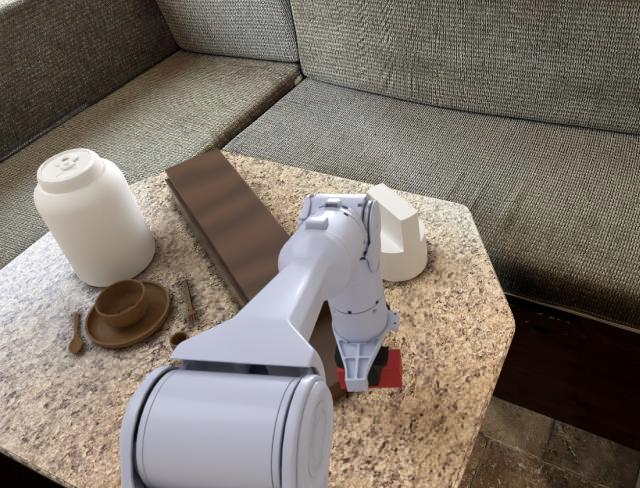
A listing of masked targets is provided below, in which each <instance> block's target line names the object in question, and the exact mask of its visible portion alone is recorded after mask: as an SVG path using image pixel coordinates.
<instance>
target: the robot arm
mask: <svg viewBox="0 0 640 488" xmlns="http://www.w3.org/2000/svg"><path fill="white" fill-rule="evenodd" d="M380 234H381V213H380V207H379V203H378V201H377V200H374V201H373V200H371V198H370V196H368V194H367V193H316V194H315V195H314V194H312V193H311V194H310V193H309V194H307V195H306V196H305V198H304V201H303V204H302V208H301V213H300V216H299V217H298V221H297V229H296V231H294V233H293V234H292V235H291V238H290V239H289V240H288V241H287V242H286V244H285V245H284V246H283V248H282V249H281V251H280V254H279V258H278V269H279V274H278V275H276V276H275V277H274V278H273V279H272V280H271V281H270V282H269V283H268V284H267V285H266V286H265V287H264V288H263V289H262V290H261V291H260V292H259V293H258V294H257V295H256V296H255V297H254V298H253V299H252V300H251V301H250V302H249V303H248V304H247V305H246V306H245V307H244V308H243V309H242V308H241V310H239V311H238V312H237V313H236V314H235V315H234V316H233V317H231V318H230V319H228V320H226V321H224V322H221V323H220V324H217V325H215V326H213V327H211V328H209V329H207V330H205V331H202V332H200V333H198V334H196V335H194V336H192V337H190V338H189V339H187V340H185V341H183V342H181V343H180V344H179V345H178V346H177V347H176V349H175V350H174V351H173V350H172V353H171V355H169V358H168V359H169V360H177V361H178V360H180V361H181V362H182V363H181V365H180V366H176V365H175V366H174V365H161V366H158V367H156V368H155V369H153V370H152V371H151V372H150V373H148V375H147V376H146V377H145V378H144V379H143V380H142V382H141V383H140V385H138V387H137V388H136V389H135V391H134V392H133V394H132V396H131V398H130V399H129V402H128V404H127V407H126V409H125V412H124V414H123V418H122V422H121V426H120V433H119V441H118V445H119V446H118V447H119V448H118V451H119V458H120V461H119V462H120V485H121V488H329V476H330V475H329V474H330V463H331V462H330V461H331V460H330V459H331V454H332V446H333V438H334V427H335V426H334V425H335V424H334V423H335V412H334V411H335V410H334V400H332V395H331V392H330V390H329V388H328V387H327V386H326V378H325V372H324V367H323V364H322V361H321V359H320V357H319V355H318V353H317V352H316V350H315V349H314V348H313V347H312V346H311V345H310V344H309V343H308V342H309V339H310V337H311V334H312V331H313V329H314V326H315V323H316V321H317V318H318V315H319V313H320V310H321V307H322V305H323V302H324V301H326V300H328V303H329V307H330V311H331V315H332V319H333V320H332V327H333V332H334V335H335V338H336V342H337V345H336V349H335V363H336V365H337V367H338V368H341V369H344V370H345V382H346V386H347V390H348V391H347V392H352V393H353V392H354V393H356V392H359V393H360V392H368V391H369V388H368V387H371V386H379V383H380V378H381V371H382V369H383V368H384V367H385V366H386V365H387V362H388V358H389V349H390V346H389V345H383V343H384V341H385V339H386V337H387V335H388V333H389V332H390V331H391V332H392V331H397V330H398V329H399V328H400V313H399V312H398V311H396V310H391V306H390V305H389V303H387V302H386V296H385V288H384V282H383V279H382V275H381V269H380V262H379V259H380V254H381V238H380Z"/></svg>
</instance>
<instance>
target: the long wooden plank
mask: <svg viewBox="0 0 640 488" xmlns="http://www.w3.org/2000/svg"><path fill="white" fill-rule="evenodd" d="M164 172H165V174H166V177H167V178H165V179H164V181H165V184H166V186H167V188H168V190H169V193H170V195H171V198H172V200H173V201H174V204H176V207H177V208H178V209H179V211H180V212H181V214H182V216H183V217H184V219H185V220H186V222H187V224H188V225H189V227H190V228H191V230H192V231H193V233H194V235H195V236H196V238H197V239H198V241H199V243H200V245H201V246H202V248H203V249H204V251H205V252H206V254H207V256H208V257H209V259H210V260H211V262H212V264H213V265H214V268H215V269H216V270H217V271H218V273H219V275H220V276H221V278H222V279H223V281H224V283H225V284H226V286H227V288H228V289H229V290H230V292H231V294H232V296H233V297H234V299H235V300H236V302H237V303H238V305H239V306H240V309H241V310H242V309H243V308H244V307H245V306H246V305H247V304H248V303H249V302H250V301H251V300H252V299H253V298H254V297H255V296H256V295H257V294H258V293H259V292H260V291H261V290H262V289H263V288H264V287H265V286H266V285H267V284H268V283H269V282H270V281H271V280H272V279H273V278H274V277H275V276H276V275H278V274H279V269H278V258H279V254H280V251H281V249H282V248H283V246H284V245H285V244H286V242H287V241H288V240H289V239H290V238H291V237H292V235H290V234H289V233H288V231H287V230H286V229H285V228H284V227H283V225H282V224H281V223H280V222H279V220H277V218H276V217H275V216H274V214H273V213H272V212H271V211H270V209H269V208H268V207H267V206H266V205H265V203H264V202H263V201H262V200H261V198H260V197H259V196H258V195H257V194H256V192H255V191H254V190H253V188H251V186H250V185H249V183H247V181H246V180H245V179H244V178H243V177H242V175H241V174H240V173H239V171H237V169H236V168H235V167H234V165H232V163H231V162H230V161H229V159H227V157H226V156H225V154H224V153H223V152H222V151H221V150H220V148H218V147H217V148H213V149H211V150H209V151H206V152H204V153H201V154H198V155H197V156H196V155H195V156H194V157H191V158H189V159H186V160H184V161H181V162H179V163H177V164H174V165H172V166H169V167H167V168H164ZM332 320H333V319H332V315H331V311H330V307H329V303H328V300H326V301H324V302H323V305H322V307H321V310H320V313H319V315H318V318H317V321H316V323H315V326H314V329H313V331H312V334H311V337H310V339H309V342H308V343H309V344H310V345H311V346H312V347H313V348H314V349H315V350H316V352H317V353H318V355H319V357H320V359H321V361H322V364H323V367H324V372H325V378H326V386H327V387H328V388H329V390H330V392H331V395H332V400H333V401H335V400H337V399H339V398H340V397H341V396H343V395H345V394H346V393H347V392H348V390H347V389H341V385H340V381H339V377H338V373H337V365H336V363H335V349H336V345H337V342H336V338H335V335H334V332H333V327H332Z"/></svg>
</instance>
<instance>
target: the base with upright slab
mask: <svg viewBox="0 0 640 488" xmlns="http://www.w3.org/2000/svg"><path fill="white" fill-rule="evenodd" d="M365 194H368V196H370V198H371V200H373V201H374V200H377V201H378V203H379V207H380V213H381V234H380V238H381V254H380V259H379V262H380V269H381V275H382V280H383V281H384V280H385V281H388V282H393V283H395V282H396V283H397V282H398V283H399V282H405V281H409V280H411V279H414V278H415V277H417V276H419V275H420V274H422V272H423V271H424V270H425V268H426V267H427V265H428V247H427V234H426V225H425V224H424V222H423V220H421V218H420V217H419V211H418V210H417V208H415V207H414V206H412V205H411V204H410V203H408V202H407V201H406V200H405V199H404V198H403V197H401V196H400V195H399V194H397V193H396V192H395V191H394V190H393V189H391V188H390V187H388V185H386V184H385V183H384V182H381V183H379V184H376V185H374V186H372V187H370V188H369V189H367V190H366V193H365Z"/></svg>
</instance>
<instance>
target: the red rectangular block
mask: <svg viewBox="0 0 640 488" xmlns="http://www.w3.org/2000/svg"><path fill="white" fill-rule="evenodd" d="M403 367H404V366H403V359H402V353H401V349H400V348H391V349H390V348H389V358H388V362H387V365H386V366H385V367H384V368H383V369H382V371H381V378H380V383H379V386H371V387H368V389H397V388H398V389H401V388H403V372H404V371H403V369H404V368H403ZM337 373H338V377H339V381H340V385H341V389H347V386H346V382H345V370H344V369H341V368H338V367H337Z"/></svg>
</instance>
